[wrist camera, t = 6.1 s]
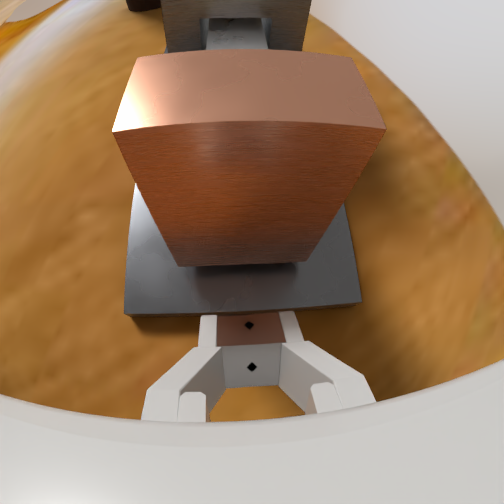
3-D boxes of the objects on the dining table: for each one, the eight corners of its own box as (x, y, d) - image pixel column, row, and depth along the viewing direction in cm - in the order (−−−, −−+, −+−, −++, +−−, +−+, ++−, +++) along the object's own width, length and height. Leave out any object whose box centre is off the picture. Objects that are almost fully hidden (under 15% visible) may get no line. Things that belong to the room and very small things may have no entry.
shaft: (306, 261, 14) (386, 128, 6) (178, 267, 14) (112, 131, 6) (270, 56, 20) (282, -42, 12) (194, 58, 20) (187, -41, 12)
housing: (354, 305, 16) (479, 227, 6) (130, 316, 15) (9, 244, 6) (287, 32, 26) (300, -47, 16) (173, 34, 25) (165, -46, 16)
